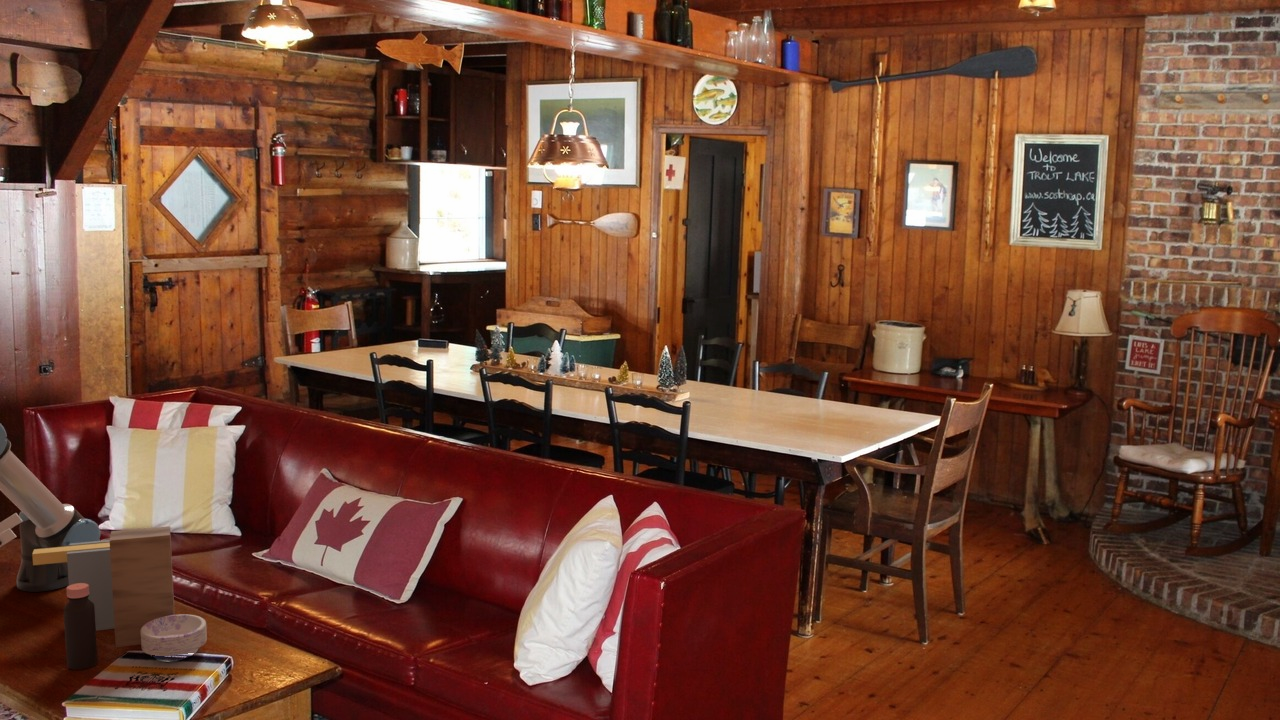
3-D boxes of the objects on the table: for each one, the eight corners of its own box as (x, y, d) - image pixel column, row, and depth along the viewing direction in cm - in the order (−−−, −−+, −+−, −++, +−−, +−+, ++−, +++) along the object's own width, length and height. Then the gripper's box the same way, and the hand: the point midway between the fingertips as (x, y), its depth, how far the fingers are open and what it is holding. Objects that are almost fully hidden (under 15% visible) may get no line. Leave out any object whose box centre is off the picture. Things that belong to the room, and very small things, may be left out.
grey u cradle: (74, 621, 314) (69, 543, 311) (139, 613, 320) (135, 537, 317) (72, 633, 306) (66, 553, 302) (138, 625, 312) (134, 547, 308)
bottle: (102, 664, 287) (97, 586, 284) (73, 673, 282) (68, 593, 279) (91, 656, 291) (86, 579, 288) (62, 664, 286) (57, 586, 283)
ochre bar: (34, 560, 306) (34, 549, 306) (135, 551, 315) (134, 540, 314) (33, 565, 302) (32, 554, 302) (134, 555, 311) (133, 544, 311)
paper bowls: (170, 672, 283) (168, 641, 282) (128, 659, 290) (126, 628, 289) (220, 651, 296) (219, 620, 295) (179, 638, 303) (178, 609, 302)
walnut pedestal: (117, 635, 305) (111, 531, 300) (175, 628, 310) (170, 526, 305) (115, 647, 297) (109, 540, 293) (175, 640, 302) (169, 535, 298)
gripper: (-44, 568, 310) (30, 521, 315) (-61, 601, 287) (19, 551, 292) (-63, 546, 307) (12, 500, 312) (-82, 578, 285) (0, 527, 289)
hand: (16, 524), depth 302 cm, fingers open, 13 cm apart
